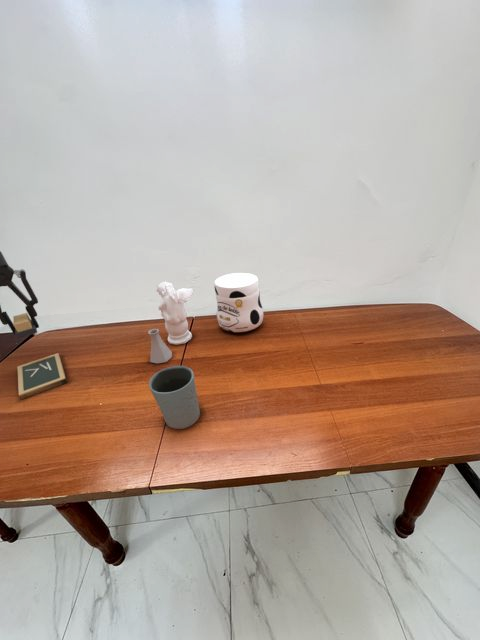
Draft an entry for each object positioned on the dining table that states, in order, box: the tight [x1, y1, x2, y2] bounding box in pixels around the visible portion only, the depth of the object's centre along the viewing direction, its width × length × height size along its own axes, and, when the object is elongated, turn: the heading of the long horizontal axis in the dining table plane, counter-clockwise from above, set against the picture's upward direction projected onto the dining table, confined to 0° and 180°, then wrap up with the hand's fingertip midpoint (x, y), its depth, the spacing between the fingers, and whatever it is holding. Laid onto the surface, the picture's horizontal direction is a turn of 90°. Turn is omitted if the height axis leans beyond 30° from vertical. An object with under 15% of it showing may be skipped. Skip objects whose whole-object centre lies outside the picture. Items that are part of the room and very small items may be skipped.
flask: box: [147, 328, 173, 364], centre depth 94 cm, size 7×7×10 cm
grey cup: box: [148, 365, 201, 430], centre depth 70 cm, size 10×10×12 cm
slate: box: [16, 352, 68, 400], centre depth 91 cm, size 18×12×2 cm, turn 37°
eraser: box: [12, 312, 38, 339], centre depth 90 cm, size 9×5×4 cm, turn 37°
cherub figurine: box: [156, 281, 195, 346], centre depth 100 cm, size 12×12×22 cm
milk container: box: [213, 272, 264, 334], centre depth 107 cm, size 17×17×18 cm
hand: (26, 329), depth 91 cm, fingers closed on eraser, 5 cm apart
